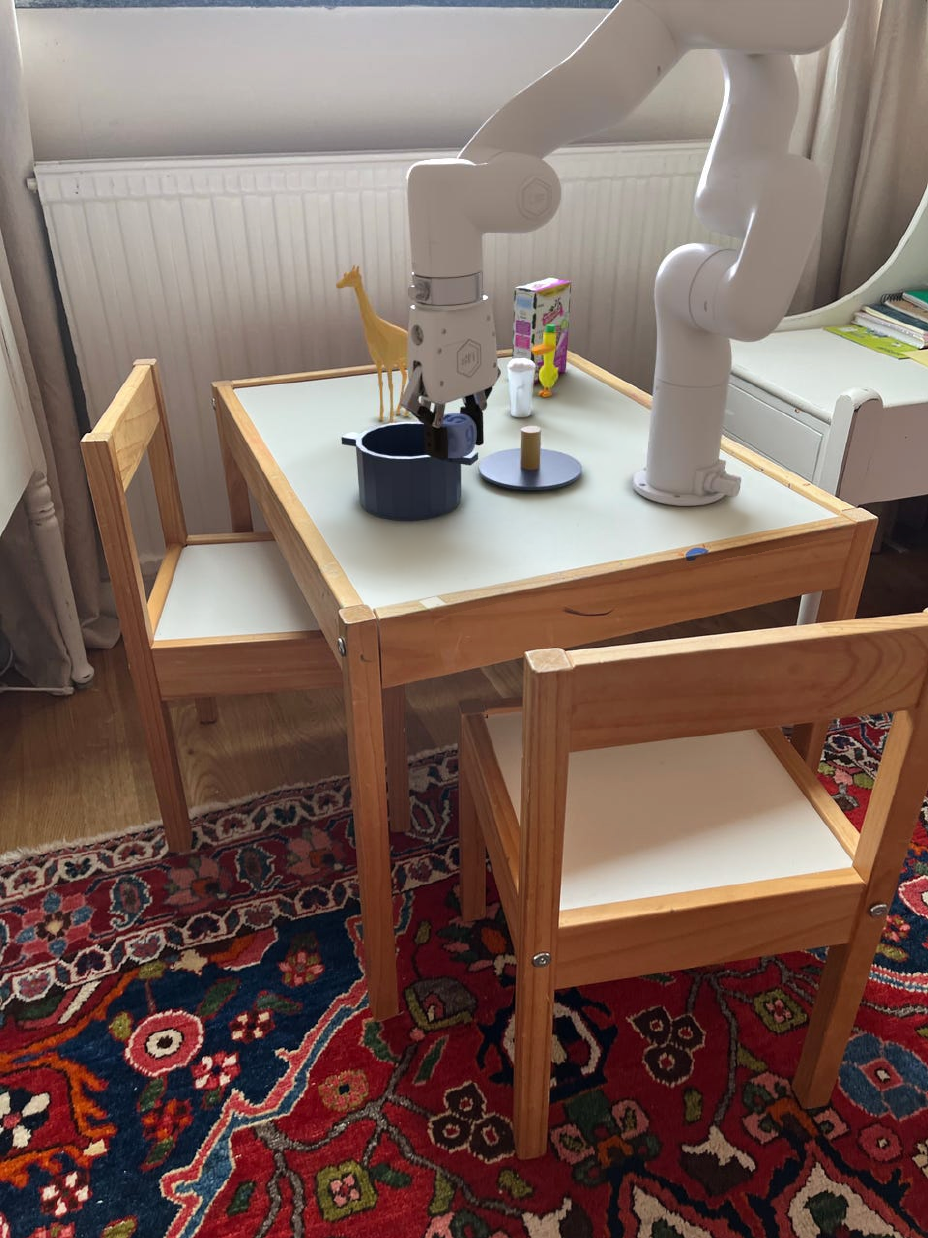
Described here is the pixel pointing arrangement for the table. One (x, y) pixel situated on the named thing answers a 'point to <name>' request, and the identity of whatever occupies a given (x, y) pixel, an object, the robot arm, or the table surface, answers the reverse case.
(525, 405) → the milkshake
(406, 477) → the blue cooking pot
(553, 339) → the toy figure
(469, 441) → the decorative dice
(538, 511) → the table surface
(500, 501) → the table surface
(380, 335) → the giraffe
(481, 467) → the lid
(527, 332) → the candy bar box
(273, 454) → the table surface
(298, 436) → the table surface
